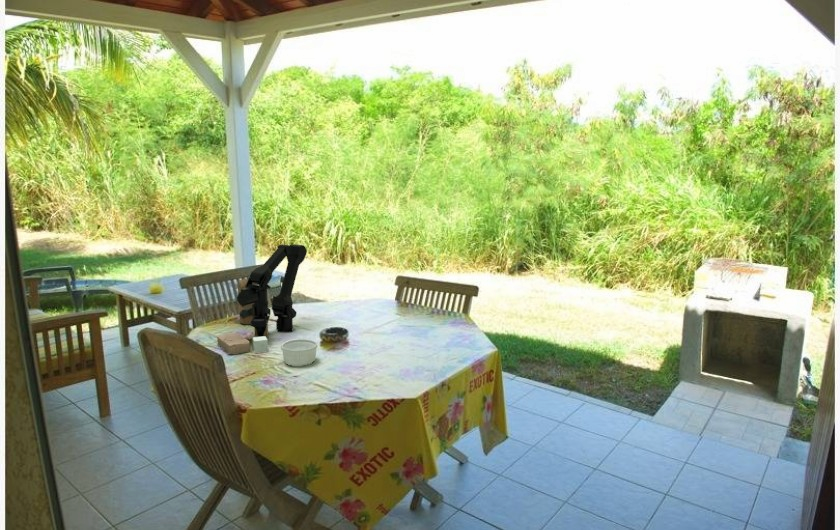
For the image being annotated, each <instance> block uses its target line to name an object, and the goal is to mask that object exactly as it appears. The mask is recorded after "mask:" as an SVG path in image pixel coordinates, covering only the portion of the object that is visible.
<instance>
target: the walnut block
mask: <svg viewBox="0 0 840 530" xmlns="http://www.w3.org/2000/svg"><path fill="white" fill-rule="evenodd" d="M253 329H254V331H253V332H254V337H258V334H257V330H256V328H254V327H253ZM263 336H266V338H267V341H268V339H269V324H268V323H267V326H266V329H265V332H264V335H263Z"/></svg>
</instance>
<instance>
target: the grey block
mask: <svg viewBox="0 0 840 530" xmlns="http://www.w3.org/2000/svg"><path fill="white" fill-rule="evenodd" d="M268 345H269V344H268V340H267V338H266V336H261V337H255V336H253V337H252V350H253V352H254V354H258V353H257V352H261V353H266V352H265V351H269V347H268Z"/></svg>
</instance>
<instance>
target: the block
mask: <svg viewBox="0 0 840 530" xmlns="http://www.w3.org/2000/svg"><path fill="white" fill-rule="evenodd" d="M248 279H249V278H244V279H240V280H239V281H238V285H237V295H238V294H239V293H240V292H241V289H245V286H246V283H247V281H248ZM252 285H256V284H252ZM252 305H253V303H252V304H249V305H246V306H241V305H240V304H239V303H238V315H239V322H240V323H241V324H242V325H251V320H252V319H253V318H254V317H252V315H251V316H249V317H246V318H245V319H242V318H241V317H240V313H239V312H240V310H241V309H244V308H247V307H249V306H252ZM255 317H256V316H255Z"/></svg>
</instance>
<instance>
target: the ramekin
mask: <svg viewBox="0 0 840 530" xmlns="http://www.w3.org/2000/svg"><path fill="white" fill-rule="evenodd" d="M317 348H318V343H317V342H316V341H315V340H313V339H309V338H308V339H307V338H295V339H289V340H287V341H285V342H283V343H282V344H281V348H280V349H281V352H282V357H283V358H282V359H283V361H284V363H285V364H286V365H287V364H288V366H290V365H292V366H291V367H303V366H302V365H306V366H308V365H307V364H309V365H311V364H313V363H314V362H315V361H316V357H317ZM313 361H314V362H313ZM312 362H313V363H312ZM310 363H311V364H310Z"/></svg>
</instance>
